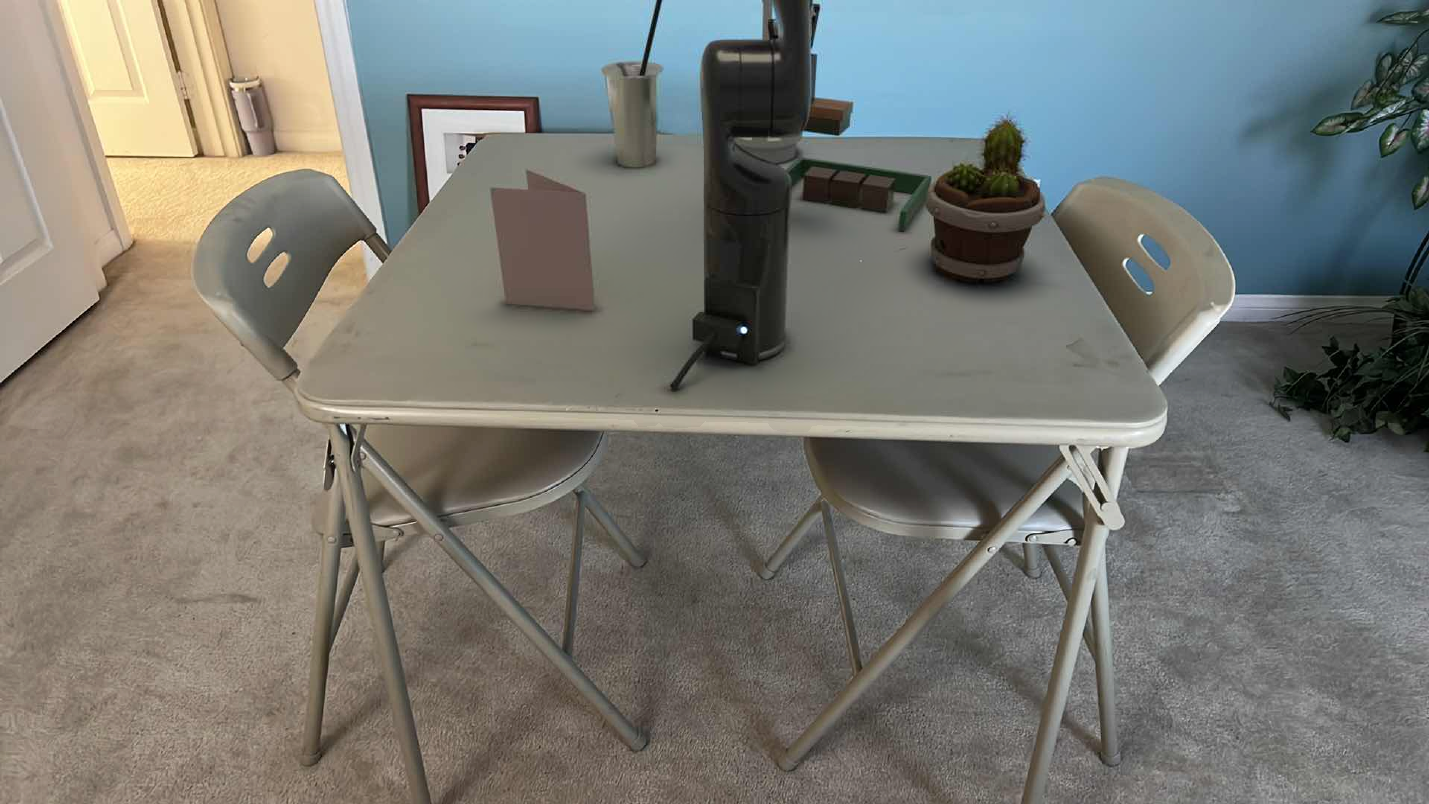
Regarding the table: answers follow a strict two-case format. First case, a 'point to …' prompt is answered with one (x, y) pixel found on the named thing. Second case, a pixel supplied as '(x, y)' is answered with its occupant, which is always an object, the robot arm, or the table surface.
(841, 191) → the cube
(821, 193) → the cube
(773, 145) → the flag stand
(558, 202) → the greeting card
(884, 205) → the cube
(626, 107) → the glass
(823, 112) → the hand brush
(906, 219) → the frame
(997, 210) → the flowerpot
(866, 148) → the table surface
